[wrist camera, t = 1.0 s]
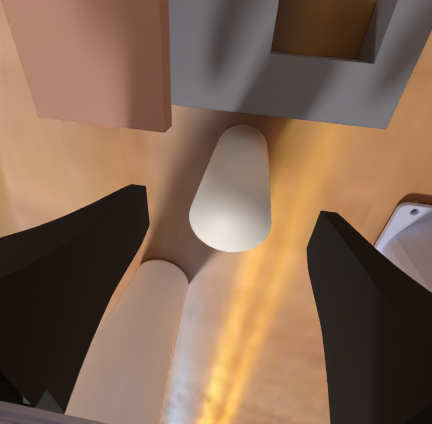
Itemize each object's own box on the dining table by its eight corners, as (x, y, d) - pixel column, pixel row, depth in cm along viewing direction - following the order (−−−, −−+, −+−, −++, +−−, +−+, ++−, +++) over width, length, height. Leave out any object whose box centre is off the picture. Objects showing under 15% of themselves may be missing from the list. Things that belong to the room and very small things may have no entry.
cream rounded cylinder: (136, 292, 28) (38, 493, 16) (125, 246, 24) (-15, 465, 12) (196, 301, 27) (144, 518, 15) (196, 256, 23) (125, 498, 11)
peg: (272, 127, 16) (279, 191, 9) (262, 176, 18) (263, 257, 11) (218, 121, 16) (189, 179, 10) (214, 170, 18) (188, 245, 12)
